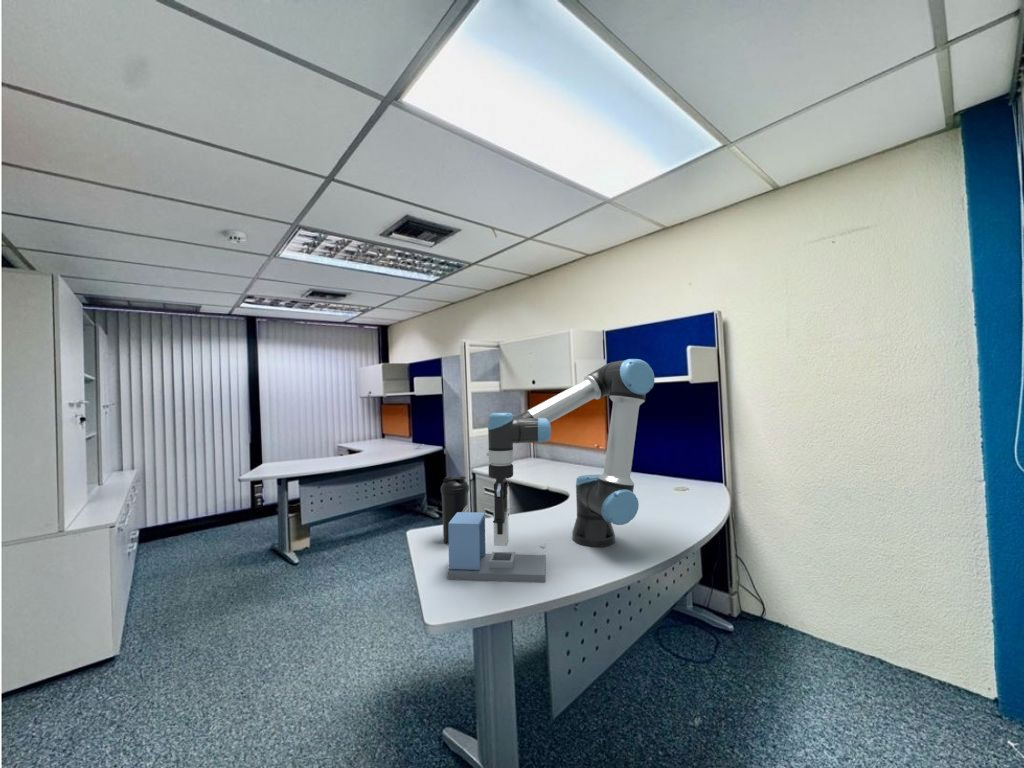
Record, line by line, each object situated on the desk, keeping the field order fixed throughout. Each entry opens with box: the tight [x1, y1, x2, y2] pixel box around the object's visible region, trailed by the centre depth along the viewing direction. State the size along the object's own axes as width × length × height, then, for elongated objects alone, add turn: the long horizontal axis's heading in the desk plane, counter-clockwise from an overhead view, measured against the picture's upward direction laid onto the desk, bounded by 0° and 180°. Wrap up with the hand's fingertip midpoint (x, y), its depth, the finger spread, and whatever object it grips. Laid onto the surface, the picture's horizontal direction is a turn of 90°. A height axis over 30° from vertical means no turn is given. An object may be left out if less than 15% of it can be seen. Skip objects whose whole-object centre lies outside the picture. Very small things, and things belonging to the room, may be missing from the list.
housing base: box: [447, 551, 547, 583], centre depth 120 cm, size 28×14×4 cm, turn 84°
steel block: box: [493, 507, 510, 547], centre depth 120 cm, size 4×4×10 cm
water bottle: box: [440, 475, 470, 546], centre depth 145 cm, size 10×10×23 cm
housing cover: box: [448, 511, 487, 570], centre depth 121 cm, size 9×11×13 cm
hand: (501, 541), depth 120 cm, fingers closed on steel block, 4 cm apart
